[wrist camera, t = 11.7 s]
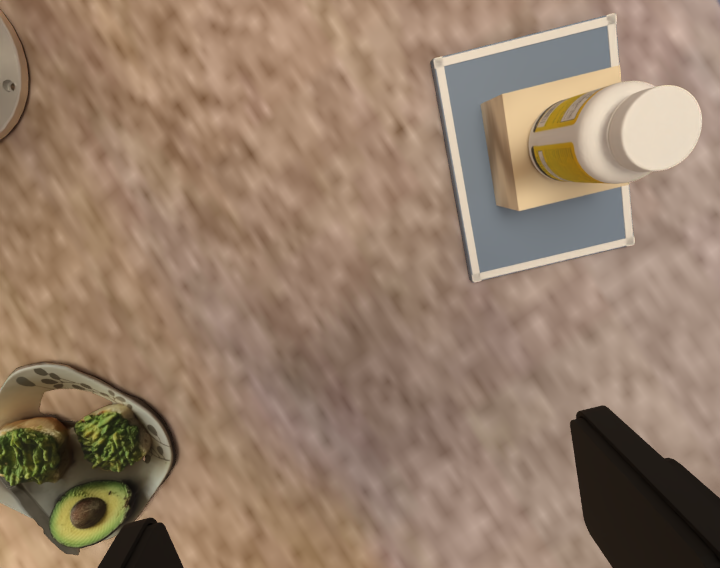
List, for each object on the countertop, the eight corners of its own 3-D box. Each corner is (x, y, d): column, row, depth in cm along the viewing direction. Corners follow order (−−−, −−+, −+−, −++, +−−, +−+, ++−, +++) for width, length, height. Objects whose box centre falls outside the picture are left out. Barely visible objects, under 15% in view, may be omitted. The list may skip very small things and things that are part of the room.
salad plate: (-76, 458, 43) (-125, 492, 38) (12, 314, 40) (-30, 332, 35) (107, 555, 46) (81, 596, 42) (202, 429, 43) (185, 460, 39)
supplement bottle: (595, 183, 32) (701, 191, 23) (520, 178, 32) (595, 183, 22) (611, 102, 31) (730, 73, 21) (533, 96, 30) (618, 63, 21)
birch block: (480, 104, 35) (502, 94, 30) (581, 79, 35) (619, 64, 30) (496, 205, 37) (518, 211, 32) (592, 182, 37) (629, 184, 32)
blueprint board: (430, 61, 35) (433, 58, 34) (607, 17, 35) (616, 12, 34) (469, 279, 40) (473, 282, 39) (627, 242, 39) (635, 244, 38)
